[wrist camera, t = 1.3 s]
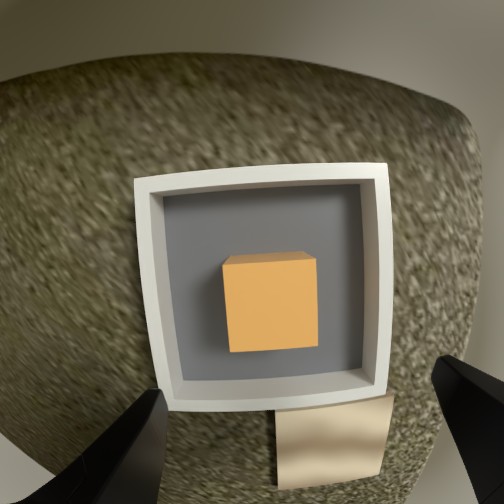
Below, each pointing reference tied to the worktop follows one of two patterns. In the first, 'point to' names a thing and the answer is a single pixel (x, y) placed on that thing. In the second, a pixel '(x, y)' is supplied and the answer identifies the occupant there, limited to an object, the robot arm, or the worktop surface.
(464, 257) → the worktop surface
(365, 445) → the pad
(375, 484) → the worktop surface
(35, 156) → the worktop surface
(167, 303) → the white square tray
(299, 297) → the block
